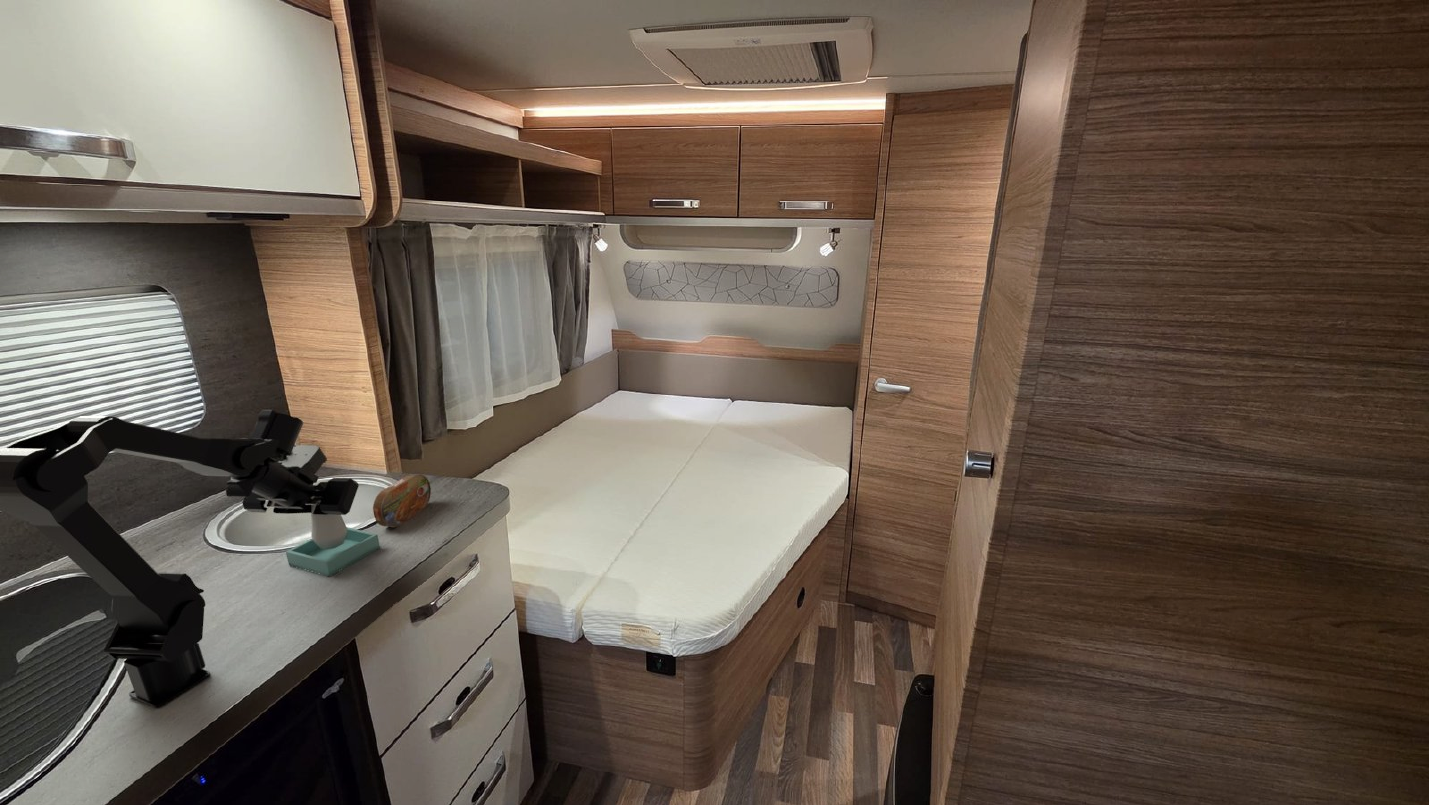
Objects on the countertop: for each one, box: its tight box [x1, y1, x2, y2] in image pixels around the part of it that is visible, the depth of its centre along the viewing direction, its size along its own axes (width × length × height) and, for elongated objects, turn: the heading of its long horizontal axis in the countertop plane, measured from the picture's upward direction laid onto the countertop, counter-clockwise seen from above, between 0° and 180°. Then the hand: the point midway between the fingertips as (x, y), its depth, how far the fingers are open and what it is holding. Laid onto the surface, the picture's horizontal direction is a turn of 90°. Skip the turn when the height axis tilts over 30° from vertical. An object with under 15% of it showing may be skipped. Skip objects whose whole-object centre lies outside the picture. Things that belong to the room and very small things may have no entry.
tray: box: [285, 526, 381, 577], centre depth 113 cm, size 11×11×3 cm
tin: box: [372, 474, 432, 528], centre depth 127 cm, size 15×3×8 cm, turn 168°
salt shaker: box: [310, 479, 347, 550], centre depth 110 cm, size 6×6×13 cm
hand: (330, 510), depth 112 cm, fingers closed on salt shaker, 3 cm apart
